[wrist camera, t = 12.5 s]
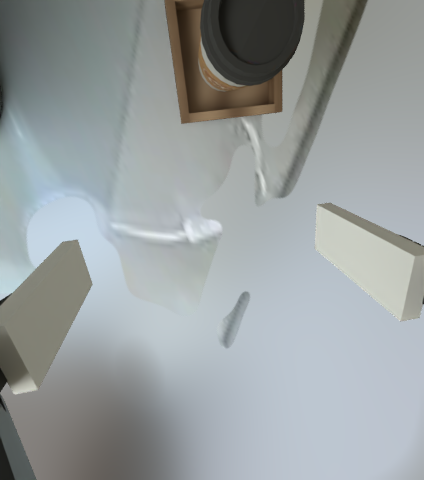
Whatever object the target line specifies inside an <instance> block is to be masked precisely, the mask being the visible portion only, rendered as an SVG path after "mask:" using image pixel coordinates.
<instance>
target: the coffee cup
mask: <svg viewBox="0 0 424 480" xmlns="http://www.w3.org/2000/svg"><path fill="white" fill-rule="evenodd" d="M303 23H304V0H204V3H203V6H202V9H201V20H200V31H201V32H200V42H199V54H198V56H199V59H198V64H199V70H200V73H201V75H202V78H203V79H204V81H205V82H206V83H207V84H208V85H209V86H210V87H211V88H213V89H215V90H217V91H223V92H225V91H232V90H237V89H241V88H244V87H247V86H253V85H259V84H262V83H264V82H266V81H268V80H270V79H272V78H273V77H274V76H276V75H277V74H278V73H279V72H280V71H281V70H282V69H283V68H284V67H285V66H286V65H287V64H288V62H289V61H290V59H291V58H292V56H293V55H294V53H295V51H296V49H297V46H298V44H299V41H300V37H301V34H302V29H303Z"/></svg>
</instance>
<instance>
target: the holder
mask: <svg viewBox="0 0 424 480" xmlns="http://www.w3.org/2000/svg"><path fill="white" fill-rule="evenodd" d="M203 3H204V0H165V9H166V16H167V23H168V31H169V38H170V45H171V52H172V59H173V66H174V74H175V81H176V88H177V95H178V102H179V109H180V117H181V124H182V123H191V122H200V121H208V120H217V119H226V118H234V117H243V116H252V115H260V114H269V113H277V112H282V70H281V71H280V72H279V73H278V74H277V75H276V76H274V77H273V78H272V79H270V80H268V81H266V82H264V83H262V84H259V85H253V86H247V87H244V88H241V89H237V90H232V91H225V92H223V91H217V90H215V89H213V88H211V87H210V86H209V85H208V84H207V83H206V82H205V81H204V79H203V78H202V75H201V73H200V70H199V64H198V59H199V56H198V54H199V42H200V32H201V31H200V20H201V9H202V6H203Z"/></svg>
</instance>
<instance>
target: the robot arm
mask: <svg viewBox="0 0 424 480" xmlns="http://www.w3.org/2000/svg"><path fill="white" fill-rule="evenodd" d="M1 110H2V94H1V88H0V116H1ZM315 249H316V250H317V251H318V252H319V253H320V254H322V255H323V256H324V257H325V258H326V259H328V260H329V261H330V262H331V263H332V264H333V265H335V266H336V267H337V268H338V269H339V270H341V271H342V272H343V273H344V274H345V275H346V276H348V277H349V278H350V279H351V280H352V281H354V282H355V283H356V284H357V285H358V286H360V287H361V288H362V289H363V290H364V291H365V292H366V293H368V294H369V295H370V296H371V297H372V298H374V299H375V300H376V301H377V302H378V303H379V304H381V305H382V306H383V307H384V308H385V309H387V310H388V311H389V312H390V313H391V314H392V315H394V316H395V317H396V318H397V319H398V320H400V321H406V320H411V319H416V318H419V317H420V314H421V309H422V305H423V304H424V246H421V244H419V243H417V242H413V241H412V240H410V239H408V238H406V237H404V236H401V235H397V234H395V233H393V232H391V231H388V230H386V229H384V228H382V227H380V226H378V225H376V224H374V223H372V222H369V221H368V220H365V219H363V218H361V217H359V216H357V215H355V214H353V213H351V212H348V211H346V210H344V209H342V208H340V207H338V206H336V205H333V204H332V203H325V204H318V205H317V216H316V235H315ZM91 286H92V281H91V278H90V275H89V272H88V269H87V266H86V263H85V260H84V258H83V254H82V251H81V248H80V246H79V242H78V240H73V241H65V242H62V243H61V244H60V245H59V246H58V247H57V248H56V249H55V250H54V251H53V252H52V253H51V254H50V255H49V256H48V257H47V258H46V259H45V260H44V262H43V263H41V264H40V266H39V267H38V268H37V269H36V270H35V271H34V272H33V273H32V274H31V275H30V276H29V277H28V278H27V279H26V280H25V281H24V282H23V283H22V284H21V285H20V286H19V287H18V288H17V289H16V290H15V291H14V292H13V293H11V294H10V295H8V296H7V297H5V298H4V299H2V300H1V301H0V392H1V390H2V389H3V387H4V386H5V384H6V382H7V383H8V384H9V386H10V388H11V389H12V391H13V393H14V394H19V393H25V392H30V391H35V390H38V389H39V387H40V385H41V383H42V382H43V379H44V378H45V376H46V374H47V372H48V370H49V368H50V366H51V364H52V362H53V360H54V358H55V356H56V354H57V352H58V350H59V349H60V347H61V345H62V343H63V341H64V339H65V337H66V335H67V333H68V331H69V329H70V327H71V325H72V323H73V321H74V319H75V317H76V315H77V313H78V312H79V310H80V308H81V306H82V304H83V302H84V300H85V298H86V296H87V294H88V292H89V290H90V288H91ZM0 480H36V477H35V475H34V472H33V470H32V467H31V465H30V463H29V460H28V457H27V455H26V453H25V450H24V448H23V445H22V443H21V440H20V438H19V436H18V433H17V430H16V428H15V426H14V423H13V421H12V418H11V416H10V413H9V411H8V409H7V406H6V404H5V401H4V399H3V398H2V396H1V394H0Z"/></svg>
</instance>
